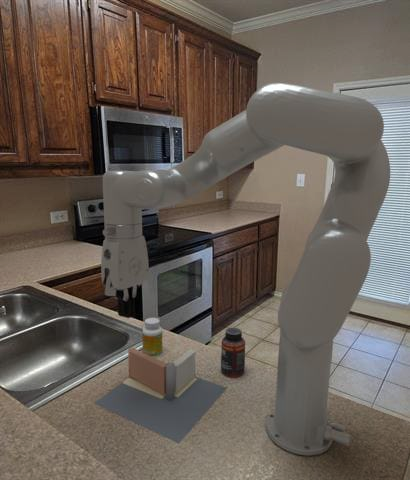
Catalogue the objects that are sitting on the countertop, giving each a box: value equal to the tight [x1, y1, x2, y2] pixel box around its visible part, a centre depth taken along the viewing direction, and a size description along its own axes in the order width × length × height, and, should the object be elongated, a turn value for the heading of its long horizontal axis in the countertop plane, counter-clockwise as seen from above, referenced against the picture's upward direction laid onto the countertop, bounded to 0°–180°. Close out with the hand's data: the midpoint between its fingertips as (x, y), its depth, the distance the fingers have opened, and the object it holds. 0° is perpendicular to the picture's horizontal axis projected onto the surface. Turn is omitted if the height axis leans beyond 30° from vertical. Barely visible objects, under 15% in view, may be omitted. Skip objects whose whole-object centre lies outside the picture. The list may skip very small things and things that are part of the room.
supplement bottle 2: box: [220, 327, 246, 379], centre depth 88 cm, size 6×6×11 cm
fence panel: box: [127, 347, 167, 394], centre depth 81 cm, size 12×2×7 cm, turn 52°
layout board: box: [93, 349, 228, 444], centre depth 78 cm, size 22×20×8 cm
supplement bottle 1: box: [141, 317, 163, 358], centre depth 97 cm, size 5×5×10 cm
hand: (126, 315), depth 76 cm, fingers closed
